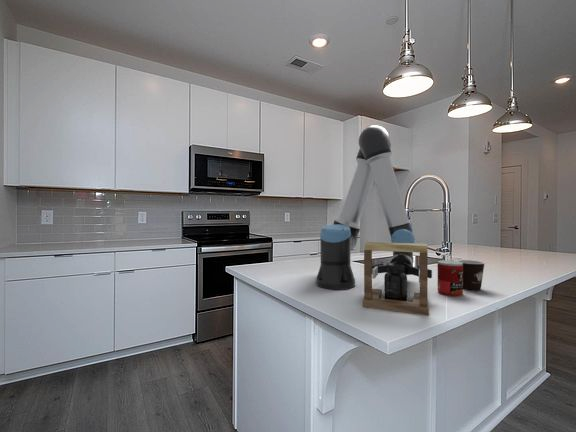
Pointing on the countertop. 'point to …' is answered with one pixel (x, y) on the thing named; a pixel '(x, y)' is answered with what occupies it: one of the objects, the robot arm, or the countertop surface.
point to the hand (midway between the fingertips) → (396, 276)
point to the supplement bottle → (395, 283)
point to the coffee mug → (472, 274)
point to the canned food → (450, 278)
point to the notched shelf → (374, 295)
